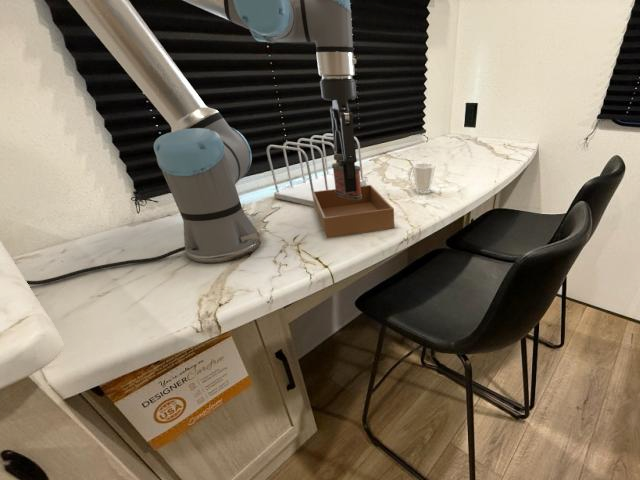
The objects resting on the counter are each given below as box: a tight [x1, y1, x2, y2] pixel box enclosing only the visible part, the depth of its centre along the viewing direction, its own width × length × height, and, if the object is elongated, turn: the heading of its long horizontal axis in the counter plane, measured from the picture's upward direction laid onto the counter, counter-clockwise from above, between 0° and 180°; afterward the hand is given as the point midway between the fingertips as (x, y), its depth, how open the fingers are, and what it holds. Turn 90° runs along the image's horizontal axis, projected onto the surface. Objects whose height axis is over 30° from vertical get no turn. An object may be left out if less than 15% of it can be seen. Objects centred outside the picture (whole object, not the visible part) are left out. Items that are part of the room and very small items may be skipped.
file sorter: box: [266, 133, 367, 208], centre depth 102 cm, size 25×17×16 cm
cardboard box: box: [312, 184, 395, 239], centre depth 86 cm, size 17×21×5 cm
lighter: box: [331, 153, 362, 200], centre depth 81 cm, size 8×3×10 cm, turn 58°
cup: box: [408, 162, 436, 195], centre depth 104 cm, size 7×10×8 cm
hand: (347, 186), depth 83 cm, fingers closed on lighter, 7 cm apart
